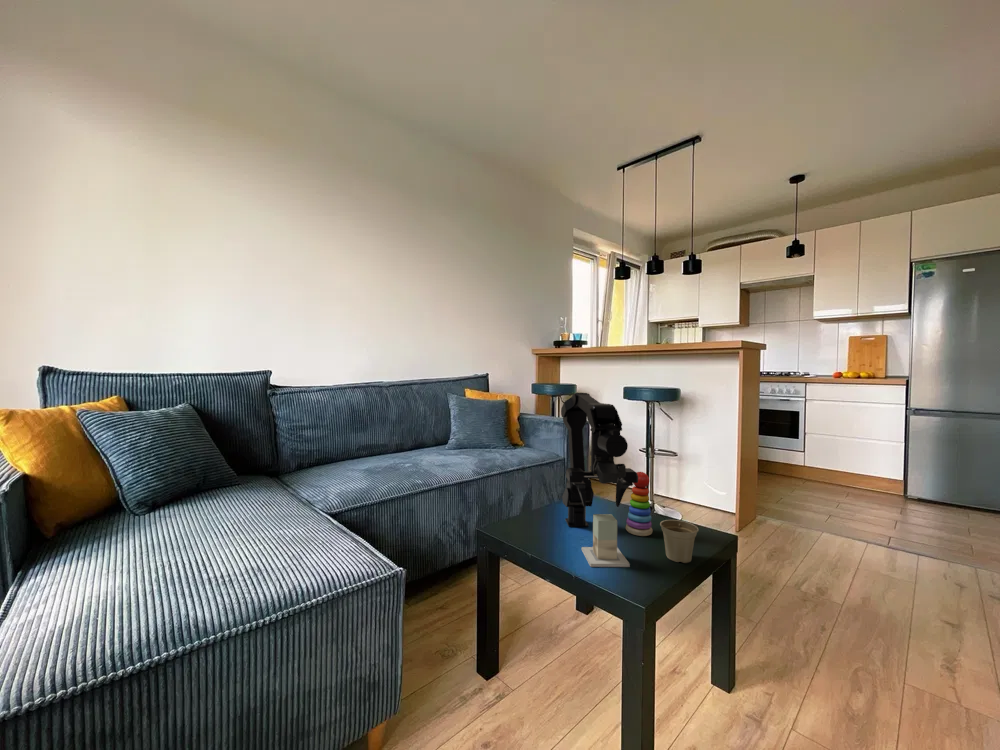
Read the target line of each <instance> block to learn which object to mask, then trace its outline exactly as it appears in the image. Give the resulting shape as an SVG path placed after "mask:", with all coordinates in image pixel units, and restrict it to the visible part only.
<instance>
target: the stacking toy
mask: <svg viewBox="0 0 1000 750" xmlns="http://www.w3.org/2000/svg"><path fill="white" fill-rule="evenodd" d="M635 472H636V473H637V474H638V483H633V487H632V488H631V492H632V493H631V494H630V501H629V505H630V506H629V507H628V513H627V518H626V525H625V530H626V531H627V532H628V533H629V534H631V535H634V536H639V537H647V536H650V535H652V534H653V531H654V530H653V528H652V524H653V523H652V515H651V513H652V511H651V508H650V507H651V503H650V496H649V493H650V490H649V488H648V486H649V485H650V477H649V476H648V474H647V473H646V472H643V471H635Z"/></svg>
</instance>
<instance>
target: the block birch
mask: <svg viewBox="0 0 1000 750" xmlns="http://www.w3.org/2000/svg"><path fill="white" fill-rule="evenodd" d="M592 547H593V552H594V554H595V555H596V557H597V559H617V548H618V539H617V540H598V539H597V538H596V536H595V535H594V533H593V532H592Z"/></svg>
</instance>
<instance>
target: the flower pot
mask: <svg viewBox="0 0 1000 750" xmlns="http://www.w3.org/2000/svg"><path fill="white" fill-rule="evenodd" d="M659 526H660V527H661V531H662V534H663V540H664V549H665V555H666V557H667V559H669V560H670V561H673V562H675V563H679V562H681V563H683V564H688V563H691V562H692V559H693V557H692V556H693V550H694V544H695V541H696V540H695V538H696V537H697V533H699V527H698V526H697V525H695V524H694V523H691V522H688V521H684V520H678V519H666V520H665V519H664V520H662V521H660V523H659Z"/></svg>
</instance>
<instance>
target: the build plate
mask: <svg viewBox="0 0 1000 750" xmlns="http://www.w3.org/2000/svg"><path fill="white" fill-rule="evenodd" d="M581 551H582V553H583V556H584V557H585V559H586V561H587V563H588V565H589V566H590V568H598V567H599V568H630V567H631V566H630V565H631V563H630V562H629V561H628V560H627V558H626V557H625V555H624V554H623V553H622V552H621V550H620V549H619V547H617V559H597V557H596V555H595V554H594V552H593V546H582V547H581Z"/></svg>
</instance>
